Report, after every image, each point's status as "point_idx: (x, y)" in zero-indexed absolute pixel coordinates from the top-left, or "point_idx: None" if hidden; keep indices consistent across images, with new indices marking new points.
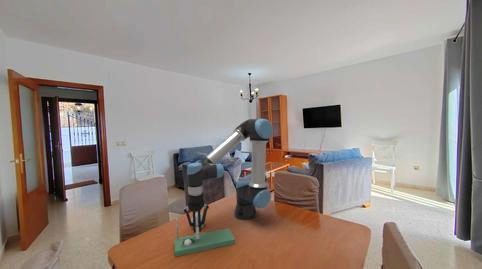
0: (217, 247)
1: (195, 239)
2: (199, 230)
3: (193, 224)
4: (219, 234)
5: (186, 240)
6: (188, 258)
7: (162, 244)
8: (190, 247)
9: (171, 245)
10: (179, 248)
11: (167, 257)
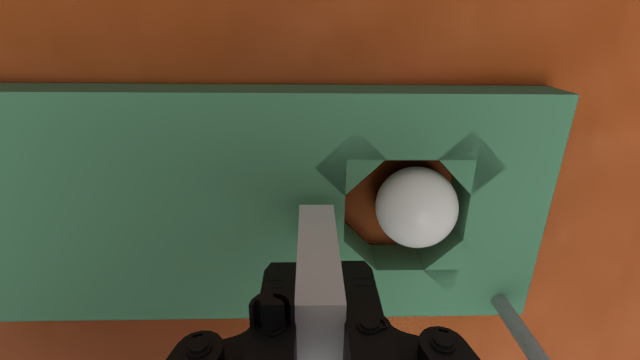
0: (121, 84)
1: None
2: (286, 274)
3: (396, 351)
4: (71, 245)
5: (441, 220)
6: (433, 8)
7: (595, 298)
8: (408, 113)
9: None
10: (520, 136)
11: (608, 102)
